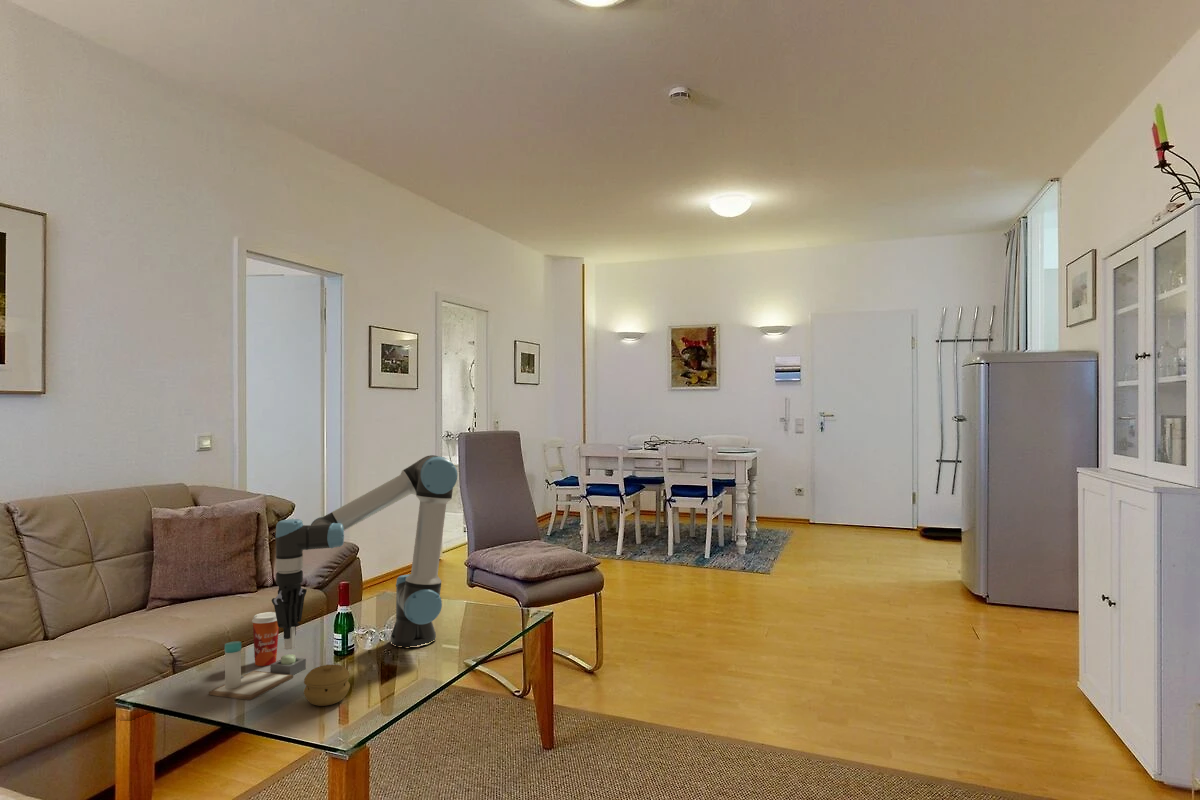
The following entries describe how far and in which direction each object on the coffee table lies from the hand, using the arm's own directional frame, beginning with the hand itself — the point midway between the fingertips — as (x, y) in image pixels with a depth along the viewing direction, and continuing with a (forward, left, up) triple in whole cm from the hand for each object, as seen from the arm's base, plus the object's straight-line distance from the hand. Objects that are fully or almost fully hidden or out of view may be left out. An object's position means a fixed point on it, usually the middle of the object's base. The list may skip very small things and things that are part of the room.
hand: (289, 648), depth 213 cm
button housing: (0, 0, -7) cm, 7 cm away
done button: (0, 0, -6) cm, 6 cm away
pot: (-26, +17, -7) cm, 32 cm away
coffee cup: (+12, -4, -7) cm, 15 cm away
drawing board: (+2, +13, -7) cm, 15 cm away
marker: (+5, +17, -6) cm, 19 cm away
